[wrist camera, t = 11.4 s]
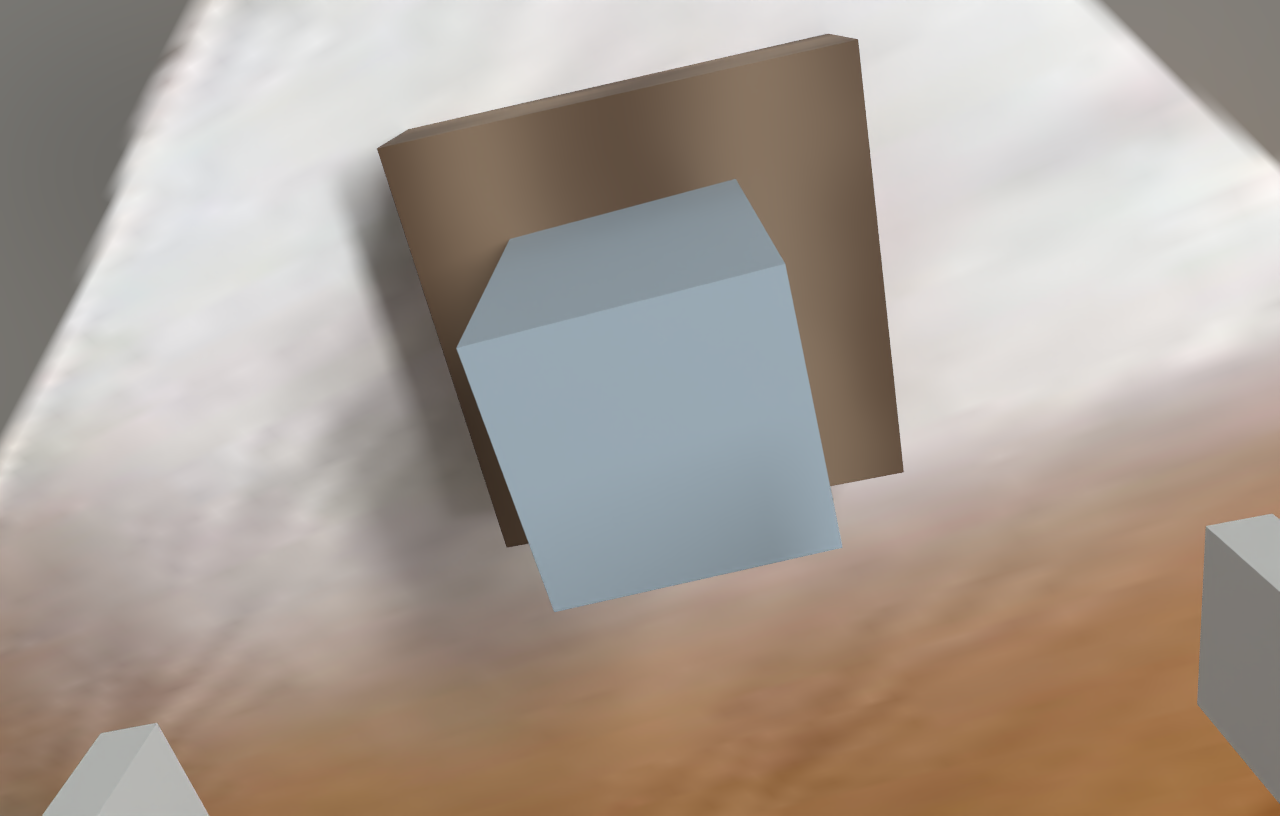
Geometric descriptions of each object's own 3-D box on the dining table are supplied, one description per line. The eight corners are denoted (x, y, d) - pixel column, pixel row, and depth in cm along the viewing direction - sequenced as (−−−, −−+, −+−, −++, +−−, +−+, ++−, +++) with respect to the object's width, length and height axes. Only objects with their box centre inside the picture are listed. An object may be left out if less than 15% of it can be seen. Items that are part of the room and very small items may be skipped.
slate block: (575, 439, 26) (554, 612, 19) (509, 239, 24) (456, 347, 16) (781, 389, 25) (842, 547, 18) (735, 178, 23) (785, 263, 16)
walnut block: (520, 483, 31) (506, 547, 27) (411, 127, 26) (376, 148, 23) (870, 414, 30) (903, 472, 27) (824, 33, 25) (858, 39, 22)
